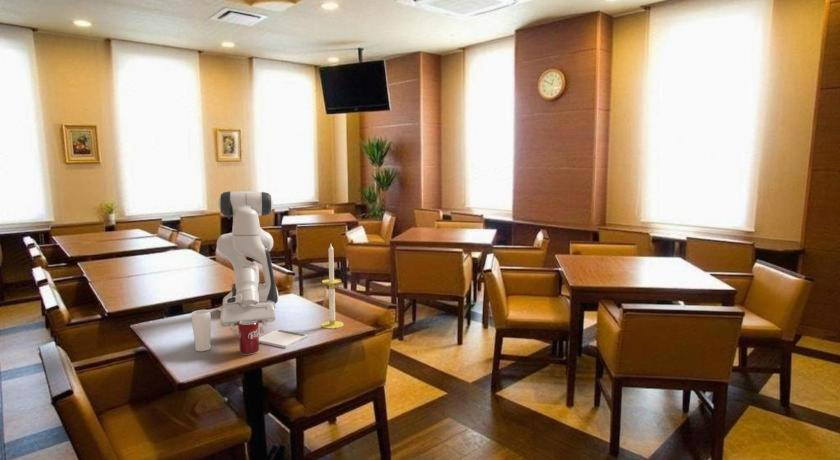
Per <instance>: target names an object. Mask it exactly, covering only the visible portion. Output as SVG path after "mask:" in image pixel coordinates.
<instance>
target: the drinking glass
mask: <svg viewBox="0 0 840 460" xmlns="http://www.w3.org/2000/svg"><path fill="white" fill-rule="evenodd" d="M211 314H212V313H211V310H210V309H198V310H194V311H192V312H191V325H192V326H191V327H192V332H193V338H194V345H195V348H194V349H195V351H196V352H205V351H208V350H210V349H211V331H212V316H211Z"/></svg>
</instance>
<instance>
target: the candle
mask: <svg viewBox="0 0 840 460" xmlns="http://www.w3.org/2000/svg"><path fill="white" fill-rule="evenodd" d="M334 257H335V256H334V247H333V246H332V243H330V245H329V248H328V278H327V279H323V280H322V281H321V283H322V284H325V285H328V307H329V308H328V309H329V310H328V312H329V317H328V318H329V321H325V322H323V323H321V324H320V325H321V328H322V327H323V329H326V330H328V329H329V330H336V329H340V328H342V327H344V326H345V325H344V323H343V322H342V321H337V320H336V300H335V299H336V296H335V295H336V294H335V293H336V292H335V291H336V288H335V286H336V284H339V283H342V280H341V279H339V278H335V265H334V264H335V263H334V262H335V260H334ZM335 328H336V329H335Z"/></svg>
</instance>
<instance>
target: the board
mask: <svg viewBox="0 0 840 460" xmlns="http://www.w3.org/2000/svg"><path fill="white" fill-rule="evenodd" d="M308 338H309V334H308V333H307V334H305V333H301V332H296V331H290V330H285V329H280V328H278V329H276V330H273V331H271V332H268V333H267V334H264V335H262V336H259V344H263V345H269V346H272V347H277V348H283V349H287V348H289V347H292V346H293V345H295V344H297V343H300V342H302V341H303V340H306V339H308Z"/></svg>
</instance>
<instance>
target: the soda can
mask: <svg viewBox="0 0 840 460" xmlns="http://www.w3.org/2000/svg"><path fill="white" fill-rule="evenodd" d="M237 328H238V329H237V331H238V347H239V348H238V349H239V354H241V355H243V356H250V355H255V354H257V353H258V352H260V343H259V337H260V327H259V323H258V321H257V320H249V321H240V322H239V323H238V326H237Z"/></svg>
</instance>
